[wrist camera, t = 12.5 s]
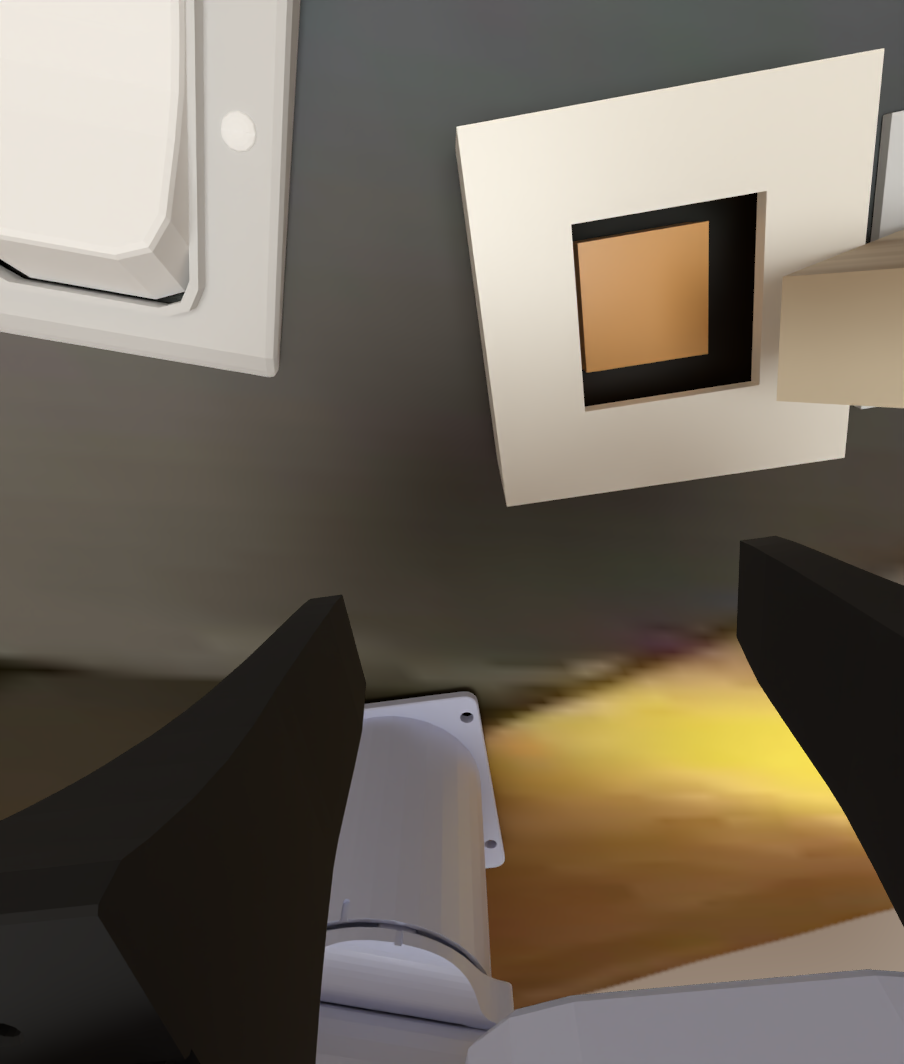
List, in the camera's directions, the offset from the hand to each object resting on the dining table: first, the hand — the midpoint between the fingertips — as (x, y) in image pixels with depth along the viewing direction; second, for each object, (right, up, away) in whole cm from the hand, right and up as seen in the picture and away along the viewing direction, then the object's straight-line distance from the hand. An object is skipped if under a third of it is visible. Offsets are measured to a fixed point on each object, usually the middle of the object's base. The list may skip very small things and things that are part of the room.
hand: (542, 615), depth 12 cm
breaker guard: (+4, +9, +8) cm, 12 cm away
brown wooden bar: (+13, +9, +6) cm, 17 cm away
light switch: (-11, +13, +6) cm, 19 cm away
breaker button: (+4, +9, +7) cm, 12 cm away
